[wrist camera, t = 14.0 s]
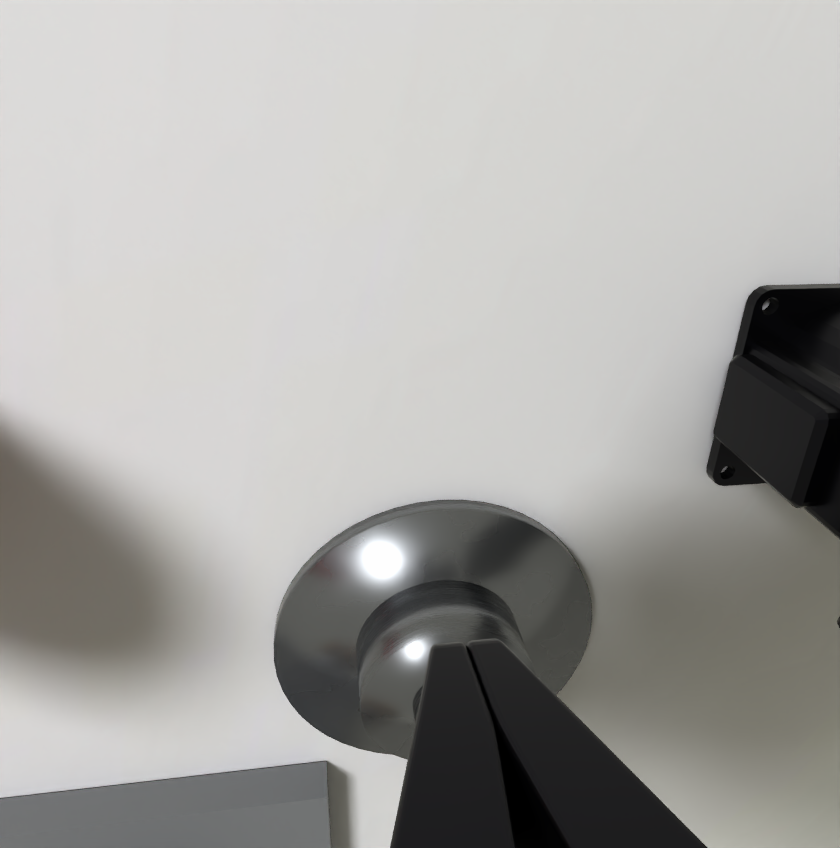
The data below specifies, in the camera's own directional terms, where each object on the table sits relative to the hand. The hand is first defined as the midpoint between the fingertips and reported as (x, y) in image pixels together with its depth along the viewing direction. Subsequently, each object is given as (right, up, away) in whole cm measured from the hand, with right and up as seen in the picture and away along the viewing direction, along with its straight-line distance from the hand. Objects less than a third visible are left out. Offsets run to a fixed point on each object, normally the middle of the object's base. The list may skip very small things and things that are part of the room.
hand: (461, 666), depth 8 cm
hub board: (-12, -16, +20) cm, 28 cm away
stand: (0, -4, +16) cm, 16 cm away
